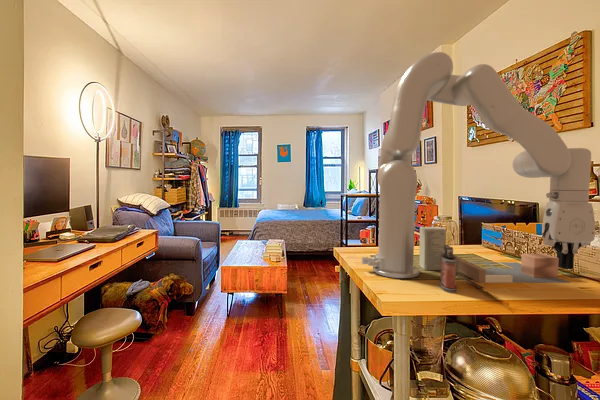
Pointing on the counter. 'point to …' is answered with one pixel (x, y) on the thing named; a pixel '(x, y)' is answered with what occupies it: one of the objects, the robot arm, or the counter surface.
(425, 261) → the skincare box
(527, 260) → the block
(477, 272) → the trap deck
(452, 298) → the counter surface
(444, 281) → the lighter
